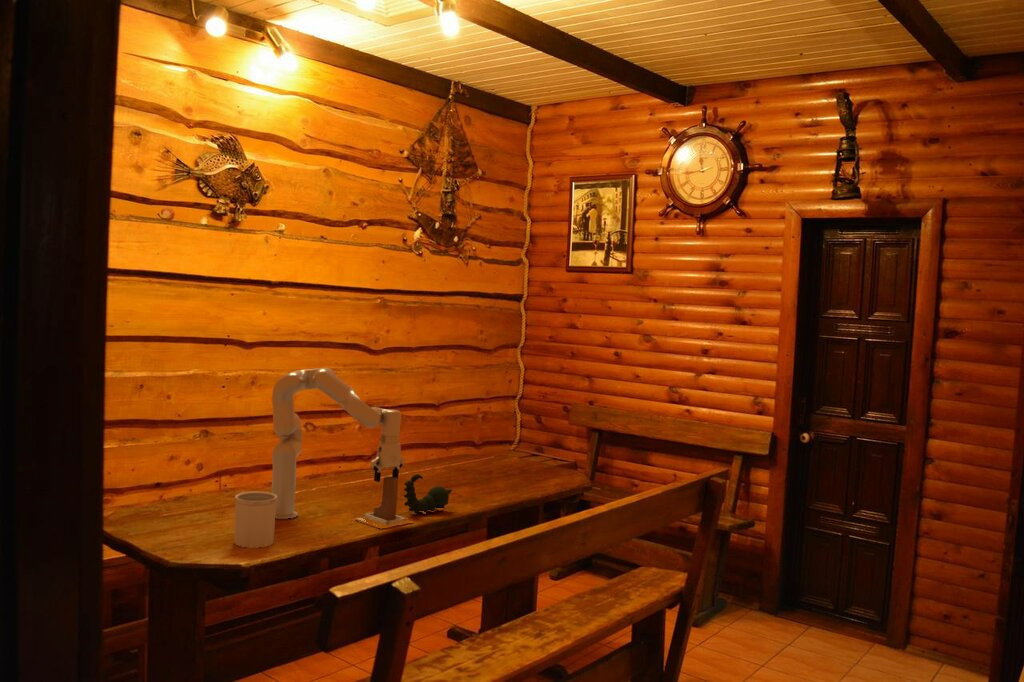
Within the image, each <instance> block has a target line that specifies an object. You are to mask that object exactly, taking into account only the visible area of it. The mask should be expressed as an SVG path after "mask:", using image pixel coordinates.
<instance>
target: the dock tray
mask: <svg viewBox="0 0 1024 682" xmlns="http://www.w3.org/2000/svg"><path fill="white" fill-rule="evenodd" d="M363 517H364V518H368V519H370V520H374V521H377V522H380V523H383V524H386V525H390V524H395V523H400V522H404V521H406V518H407V517H403V516H400V515H397V514H396V519H395V520H390V521H387V520H384V519H381V518H378V517H375V516H374V511H373V512H367V513H364V514H363ZM355 519H358V520H361V521H364V520H365V519H363V518H361V517H356V518H355ZM364 522H366V520H365V521H364ZM367 523H368V522H367ZM374 525H375V524H374ZM376 526H377V525H376Z"/></svg>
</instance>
